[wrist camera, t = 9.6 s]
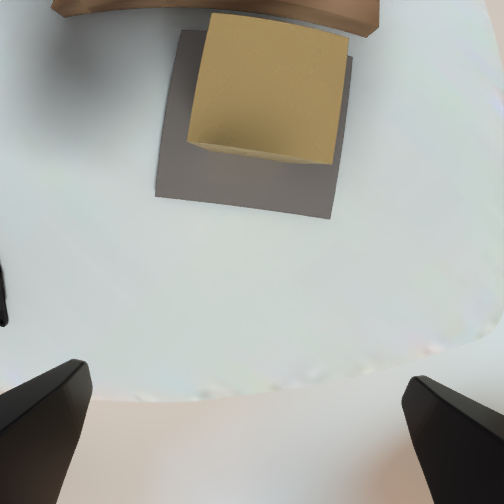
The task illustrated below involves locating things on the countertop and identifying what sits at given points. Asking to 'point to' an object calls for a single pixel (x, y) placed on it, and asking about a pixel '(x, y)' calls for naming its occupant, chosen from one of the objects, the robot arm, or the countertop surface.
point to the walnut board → (253, 10)
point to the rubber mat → (236, 166)
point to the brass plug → (269, 90)
